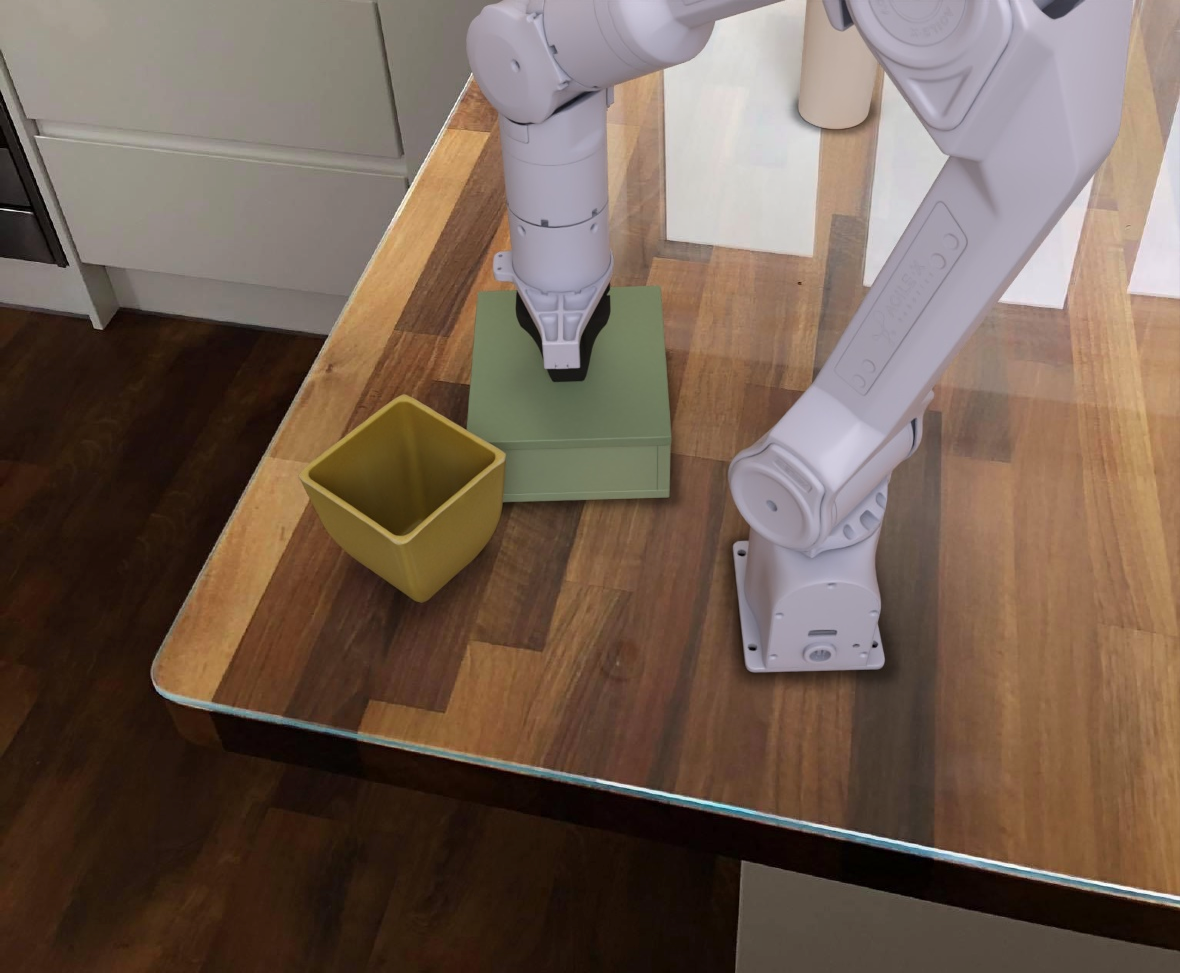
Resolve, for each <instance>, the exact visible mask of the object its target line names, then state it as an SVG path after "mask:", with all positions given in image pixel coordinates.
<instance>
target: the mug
mask: <svg viewBox="0 0 1180 973" xmlns="http://www.w3.org/2000/svg"><path fill="white" fill-rule="evenodd" d="M804 14H805V16H804V28H803V30H804V31H803V42H802V55H801V66H800V77H799V94H798V112H799V115H800V116H801V117H802V119H803V120H805V121H806V122H808V123H809V124H811V125H813V126H816V127H819V128H823V129H829V130H842V129H844V130H845V129H848V128H852V127H855V126H858V125H860V124H861V123H863V122H864V121H865V120H866V119H867V117H868V115H869V113H870V107H871V104H872V103H871V102H872V98H873V92H874V88H875V82H876V76H877V75H876V74H877V70H878V65H879V62H878V61H877V60H876V58H875V57H874V55H873V54H872V53H871V51H870V50H869V48H868V47H867V45H866V44H865V42H864V40H863V39H862V37H861V35H860V34H859V32H858V30H857V28H856V26H855V25H853V26H851V27H850V28H848V29H847V30H845V31H844V32H842V31H839V30H836V29H834V28H833V27H832V26H831V24H830V22H829V20H828V17H827V14H826V11H825V8H824V5H823V3H822V0H806V3H805V13H804Z"/></svg>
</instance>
